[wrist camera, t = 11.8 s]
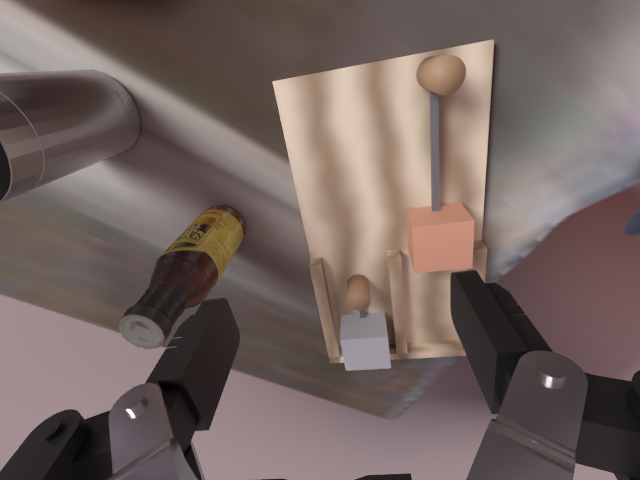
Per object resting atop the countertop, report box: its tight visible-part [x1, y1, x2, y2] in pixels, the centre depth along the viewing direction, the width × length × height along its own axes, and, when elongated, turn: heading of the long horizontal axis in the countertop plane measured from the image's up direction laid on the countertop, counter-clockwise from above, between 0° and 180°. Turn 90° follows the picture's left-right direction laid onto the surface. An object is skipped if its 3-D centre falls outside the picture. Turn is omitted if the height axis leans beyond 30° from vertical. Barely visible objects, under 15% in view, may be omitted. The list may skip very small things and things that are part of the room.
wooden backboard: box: [273, 40, 494, 363], centre depth 42 cm, size 22×40×3 cm, turn 10°
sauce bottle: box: [119, 206, 245, 349], centre depth 36 cm, size 6×6×20 cm
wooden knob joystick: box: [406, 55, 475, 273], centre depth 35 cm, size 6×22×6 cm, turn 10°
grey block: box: [340, 274, 391, 371], centre depth 47 cm, size 6×13×5 cm, turn 10°
